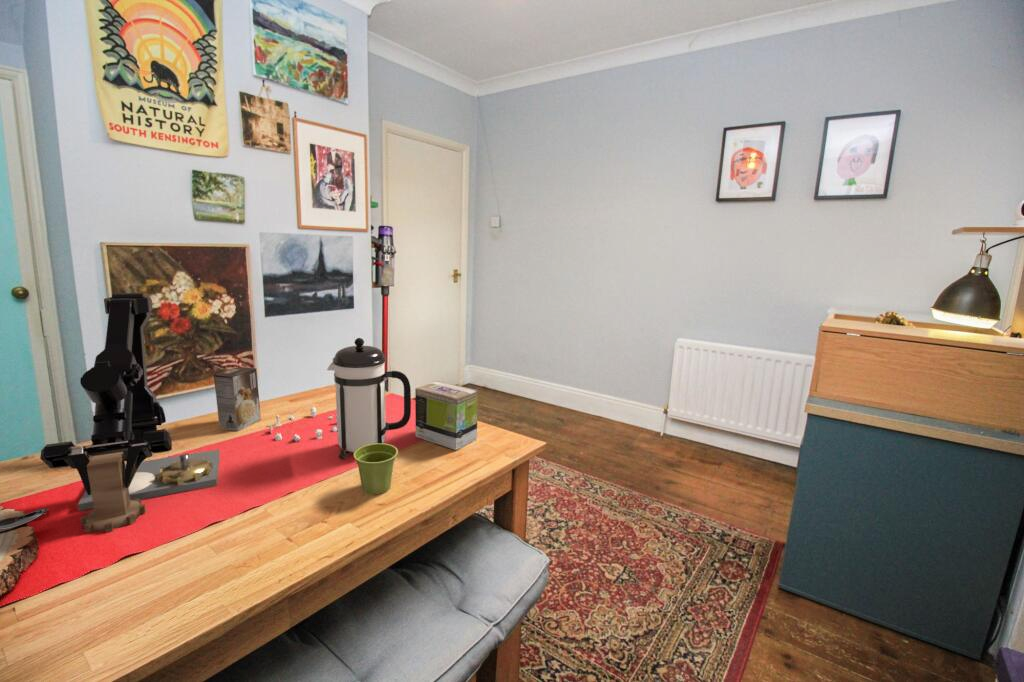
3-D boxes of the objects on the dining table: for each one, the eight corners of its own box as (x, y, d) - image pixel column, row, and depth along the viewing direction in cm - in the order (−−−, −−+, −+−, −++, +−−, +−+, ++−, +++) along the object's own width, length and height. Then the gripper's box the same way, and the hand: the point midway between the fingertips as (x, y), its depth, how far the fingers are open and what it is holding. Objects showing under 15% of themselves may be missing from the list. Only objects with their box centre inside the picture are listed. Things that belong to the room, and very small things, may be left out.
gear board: (99, 474, 105) (98, 467, 105) (219, 454, 116) (219, 448, 116) (79, 511, 91) (77, 503, 91) (217, 485, 103) (216, 478, 102)
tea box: (478, 439, 132) (479, 389, 129) (455, 451, 124) (456, 399, 121) (437, 426, 140) (438, 379, 137) (414, 437, 132) (413, 387, 128)
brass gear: (149, 476, 102) (146, 457, 101) (198, 459, 110) (196, 442, 110) (172, 490, 97) (170, 470, 96) (221, 471, 106) (219, 453, 105)
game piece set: (293, 414, 145) (293, 402, 144) (354, 420, 143) (353, 408, 142) (251, 439, 126) (250, 426, 126) (320, 447, 124) (319, 433, 123)
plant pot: (406, 482, 107) (406, 447, 105) (382, 503, 99) (381, 465, 97) (371, 474, 110) (371, 440, 108) (345, 494, 101) (344, 457, 100)
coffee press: (361, 469, 112) (358, 348, 106) (319, 451, 121) (314, 338, 114) (412, 444, 127) (412, 336, 120) (372, 430, 135) (369, 328, 129)
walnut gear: (89, 511, 91) (79, 453, 89) (149, 500, 96) (141, 444, 93) (75, 538, 83) (63, 475, 81) (141, 525, 88) (132, 464, 85)
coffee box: (243, 417, 140) (238, 365, 137) (261, 419, 139) (257, 367, 135) (218, 429, 131) (212, 374, 128) (238, 431, 130) (233, 376, 127)
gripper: (176, 424, 105) (176, 492, 98) (64, 438, 95) (55, 514, 89) (167, 402, 96) (166, 475, 89) (44, 415, 87) (33, 497, 80)
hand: (108, 490), depth 87 cm, fingers open, 5 cm apart
